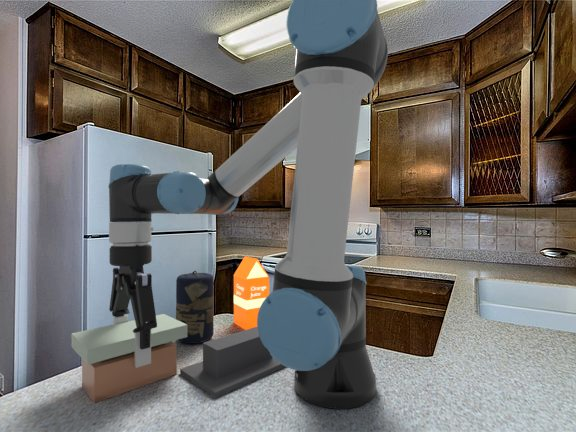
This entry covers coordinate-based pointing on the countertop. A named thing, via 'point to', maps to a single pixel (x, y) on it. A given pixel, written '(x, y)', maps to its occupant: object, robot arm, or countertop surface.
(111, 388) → the dish
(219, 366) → the mat stand
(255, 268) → the orange juice
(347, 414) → the countertop surface
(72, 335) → the board
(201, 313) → the canister
